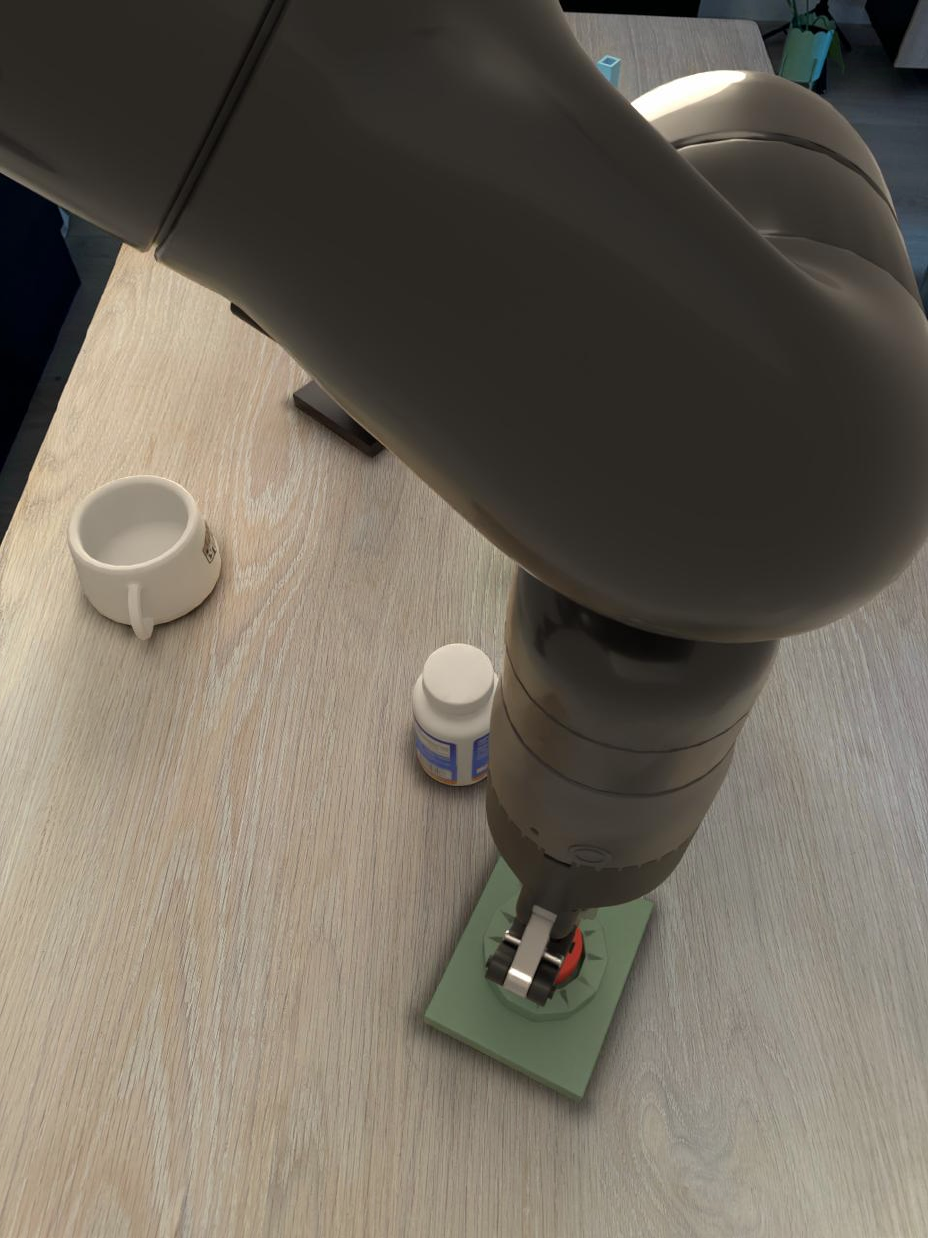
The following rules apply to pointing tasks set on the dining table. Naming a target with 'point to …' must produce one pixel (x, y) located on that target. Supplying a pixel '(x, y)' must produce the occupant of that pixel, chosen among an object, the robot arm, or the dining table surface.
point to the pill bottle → (454, 714)
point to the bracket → (335, 418)
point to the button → (571, 958)
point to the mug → (143, 551)
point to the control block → (520, 1029)
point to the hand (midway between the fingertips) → (557, 914)
